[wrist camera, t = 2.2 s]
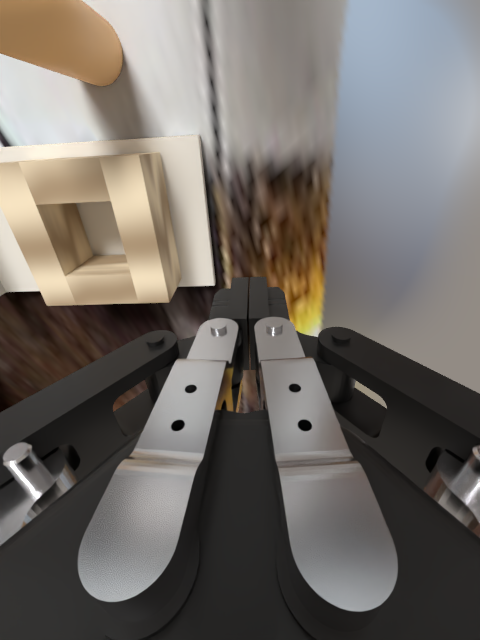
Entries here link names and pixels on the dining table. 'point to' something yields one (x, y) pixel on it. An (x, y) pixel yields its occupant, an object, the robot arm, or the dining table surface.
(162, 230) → the socket block
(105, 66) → the dowel
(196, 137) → the plate
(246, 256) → the dining table surface
